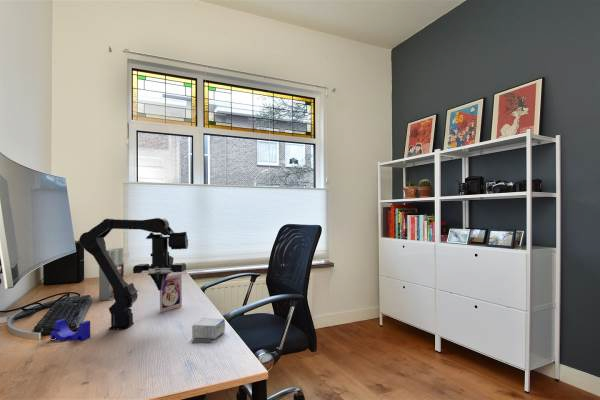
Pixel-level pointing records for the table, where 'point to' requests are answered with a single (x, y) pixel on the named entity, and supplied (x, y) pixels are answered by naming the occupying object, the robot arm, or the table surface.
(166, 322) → the table surface
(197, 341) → the pad
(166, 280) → the greeting card
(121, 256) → the tall grey pillar
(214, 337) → the medicine box
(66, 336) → the blue notched block
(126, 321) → the robot arm
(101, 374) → the table surface
